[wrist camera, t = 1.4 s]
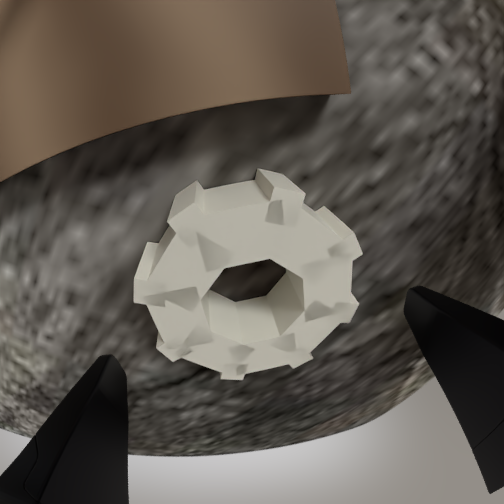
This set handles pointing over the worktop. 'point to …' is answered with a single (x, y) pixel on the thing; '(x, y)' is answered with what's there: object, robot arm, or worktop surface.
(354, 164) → the worktop surface
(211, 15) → the gear board
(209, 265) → the loose gear
